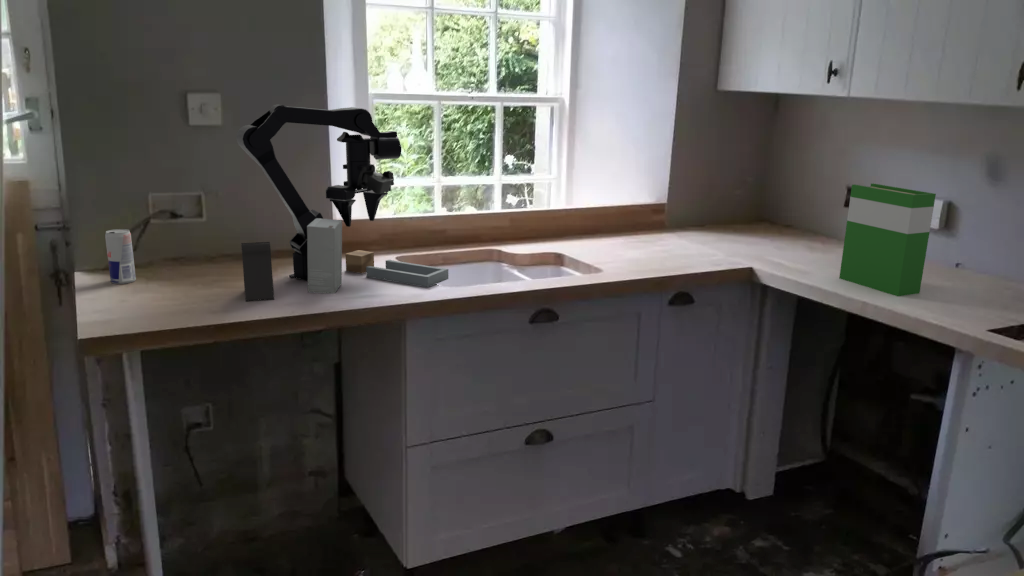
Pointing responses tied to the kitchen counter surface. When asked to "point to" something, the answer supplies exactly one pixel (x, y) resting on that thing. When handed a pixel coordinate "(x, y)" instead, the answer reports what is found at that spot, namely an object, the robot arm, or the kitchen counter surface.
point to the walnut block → (359, 261)
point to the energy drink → (120, 256)
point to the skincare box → (324, 255)
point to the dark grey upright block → (257, 271)
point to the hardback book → (887, 238)
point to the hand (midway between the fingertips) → (360, 223)
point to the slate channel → (408, 273)
